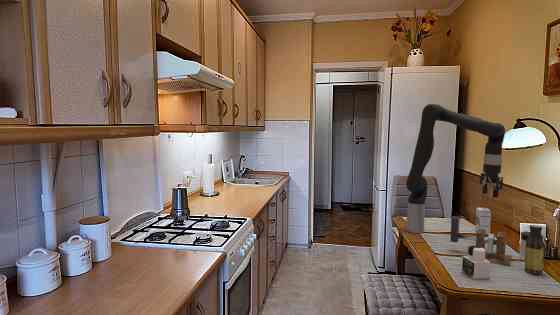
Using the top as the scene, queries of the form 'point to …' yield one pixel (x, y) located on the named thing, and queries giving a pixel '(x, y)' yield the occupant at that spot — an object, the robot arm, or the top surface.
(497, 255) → the bearing stand
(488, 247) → the spacer
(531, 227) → the sauce bottle
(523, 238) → the jar
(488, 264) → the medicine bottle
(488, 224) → the syrup box
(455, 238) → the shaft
